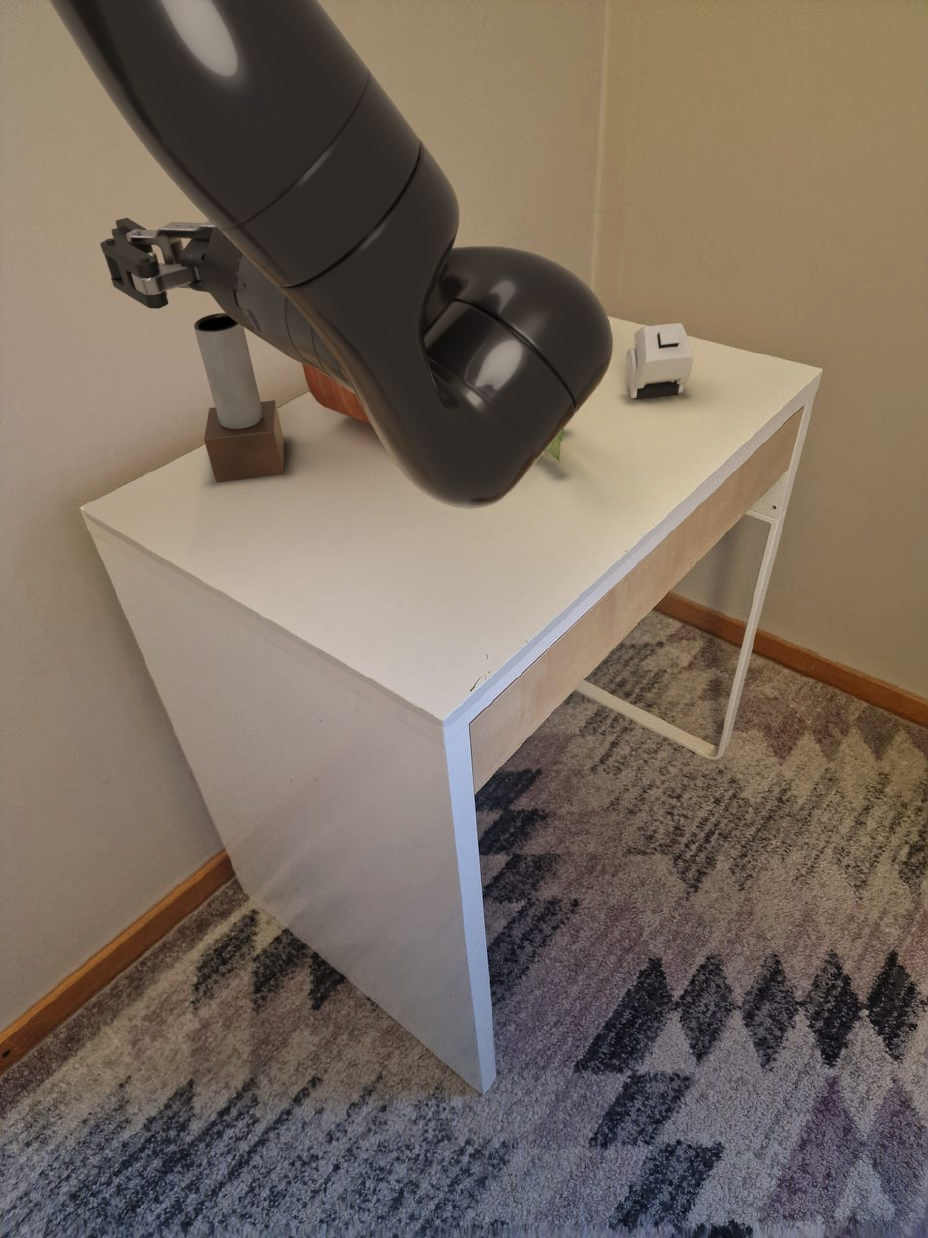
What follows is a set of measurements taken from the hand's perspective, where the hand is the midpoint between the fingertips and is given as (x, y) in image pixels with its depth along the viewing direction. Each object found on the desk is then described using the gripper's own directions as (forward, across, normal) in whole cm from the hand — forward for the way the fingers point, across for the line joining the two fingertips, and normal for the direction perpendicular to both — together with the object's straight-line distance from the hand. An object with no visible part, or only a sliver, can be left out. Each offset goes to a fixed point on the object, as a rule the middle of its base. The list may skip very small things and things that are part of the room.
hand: (187, 220), depth 56 cm
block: (+20, -7, +30) cm, 37 cm away
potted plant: (+7, -26, +30) cm, 41 cm away
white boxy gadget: (+2, -50, +30) cm, 58 cm away
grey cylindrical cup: (+20, -7, +25) cm, 33 cm away
